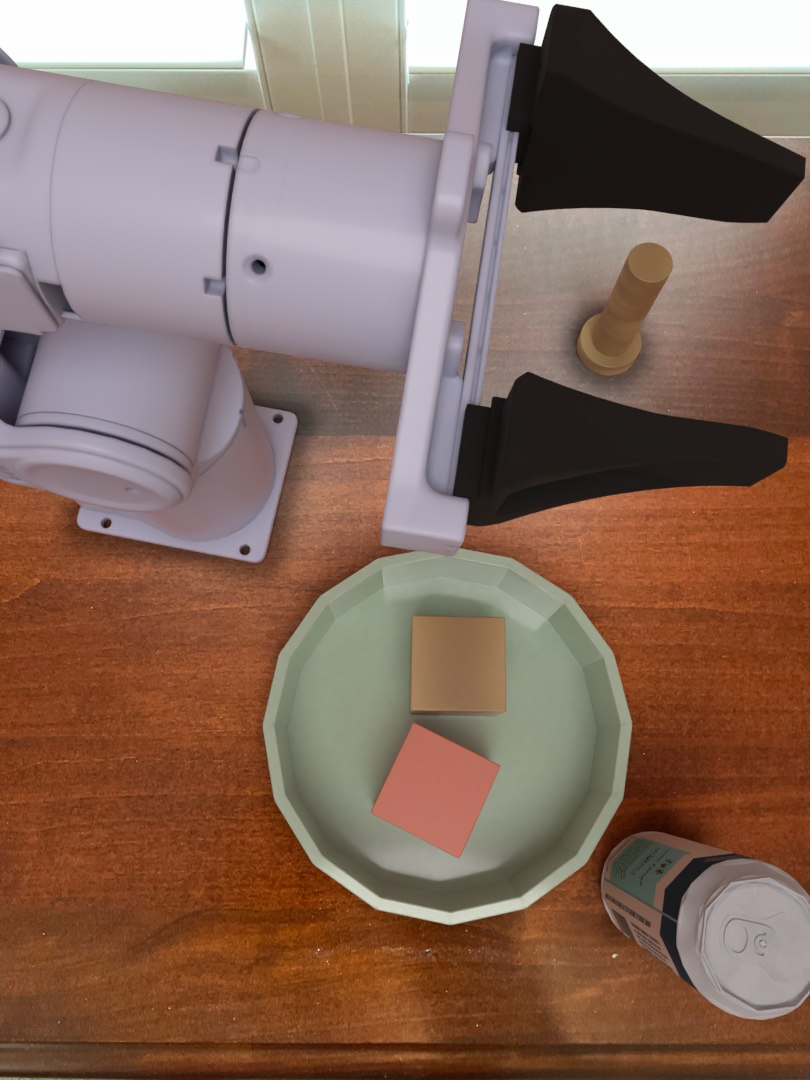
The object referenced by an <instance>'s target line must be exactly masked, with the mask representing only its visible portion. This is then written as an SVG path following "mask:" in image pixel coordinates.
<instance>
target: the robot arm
mask: <svg viewBox="0 0 810 1080" xmlns="http://www.w3.org/2000/svg"><path fill="white" fill-rule="evenodd" d="M540 10H541V8H540V7H539V6H536V5H531V4H525V3H521V2H514V1H509V0H467V1H466V7H465V14H464V20H463V24H462V31H461V36H460V37H461V38H460V43H459V50H458V56H457V61H456V67H455V73H454V80H453V85H452V90H451V96H450V102H449V109H448V114H447V121H446V125H445V131H444V135H443V139H439V138H433V137H426V136H420V135H414V134H409V133H403V132H397V131H391V130H385V129H380V128H374V127H369V126H363V125H356V124H351V123H346V122H338V121H334V120H333V121H332V120H328V119H322V118H315V117H309V116H304V115H300V114H299V115H298V114H293V113H287V112H281V111H274V110H269V109H264V108H262V109H261V108H258V107H254V106H248V105H247V106H246V105H241V104H235V103H230V102H224V101H218V100H212V99H207V98H200V97H195V96H188V95H183V94H177V93H171V92H165V91H161V90H153V89H148V88H141V87H137V86H130V85H126V84H125V85H124V84H118V83H114V82H109V81H108V82H107V81H101V80H97V79H91V78H85V77H79V76H75V75H67V74H61V73H56V72H50V71H45V70H39V69H32V68H26V67H21V66H18V64H17V63H16V61H14V60H13V59H12V58H11V56H9V54H8V53H7V52H5V50H3V48H1V47H0V480H2V481H4V482H6V483H8V484H12V485H17V486H21V487H27V488H31V489H37V490H41V491H47V492H49V493H52V494H55V495H58V496H60V497H63V498H66V499H69V500H71V501H74V502H75V503H76V504H77V505H78V506H80V507H79V510H78V513H77V517H76V523H77V524H76V525H77V526H78V527H79V528H80V529H81V530H83V531H86V532H92V533H97V534H102V535H107V536H111V537H116V538H122V539H127V540H132V541H138V542H143V543H148V544H154V545H158V546H164V547H169V548H174V549H179V550H184V551H189V552H194V553H200V554H204V555H210V556H214V557H220V558H225V559H231V560H234V561H235V560H237V561H242V562H245V563H251V564H259V563H261V562H263V561H264V560H265V558H266V555H267V553H268V549H269V545H270V541H271V535H272V533H273V528H274V523H275V520H276V516H277V512H278V509H279V508H278V507H279V503H280V499H281V495H282V491H283V488H284V482H285V480H286V479H285V478H286V476H287V471H288V467H289V463H290V459H291V455H292V450H293V446H294V442H295V438H296V434H297V429H298V426H299V420H298V417H297V415H296V414H295V413H294V412H292V411H289V410H284V409H283V410H282V409H278V408H272V407H266V406H261V405H255V403H254V402H253V399H252V397H251V394H250V392H249V390H248V387H247V385H246V383H245V380H244V378H243V375H242V372H241V371H240V367H239V365H238V363H237V360H236V358H235V357H234V355H233V352H232V351H231V349H230V347H236V348H237V347H238V348H243V349H248V350H255V351H260V352H266V353H271V354H279V355H285V356H290V357H296V358H301V359H308V360H314V361H321V362H325V363H326V362H327V363H331V364H332V363H333V364H338V365H345V366H350V367H357V368H362V369H368V370H374V371H380V372H387V373H393V374H398V375H405V378H404V385H403V386H404V387H403V392H402V397H401V404H400V410H399V417H398V423H397V429H396V436H395V442H394V448H393V454H392V460H391V467H390V474H389V478H388V484H387V492H386V497H385V505H384V510H383V514H382V515H383V516H382V522H381V529H380V536H379V544H380V545H381V546H384V547H390V548H396V549H402V550H409V551H421V552H427V553H433V554H439V555H445V556H452V557H453V556H455V555H456V553H457V551H458V550H459V548H461V546H462V545H463V543H464V542H465V538H466V531H467V526H471V527H476V528H477V527H478V528H483V527H489V526H494V525H500V524H504V523H506V522H509V521H512V520H515V519H516V520H517V519H520V518H522V517H526V516H529V515H533V514H537V513H540V512H544V511H547V510H550V509H553V508H559V507H562V506H566V505H567V506H568V505H572V504H576V503H580V502H584V501H589V500H594V499H600V498H606V497H610V496H616V495H622V494H629V493H637V492H643V491H644V492H645V491H654V490H664V489H676V488H691V487H692V488H693V487H748V488H750V487H752V486H754V485H756V484H758V483H759V482H761V481H763V480H765V479H766V478H768V477H770V476H772V475H774V474H775V473H777V472H779V471H780V470H783V469H785V467H786V465H787V463H788V453H789V452H788V451H789V437H787V436H783V435H780V434H778V433H775V432H770V431H768V430H763V429H760V428H756V427H752V426H745V425H740V424H732V423H726V422H718V421H711V420H703V419H697V418H689V417H683V416H682V417H681V416H674V415H668V414H664V413H657V412H653V411H649V410H645V409H642V408H638V407H635V406H634V407H633V406H631V405H630V406H629V405H627V404H622V403H619V402H615V401H614V400H613V401H612V400H609V399H605V398H602V397H598V396H595V395H593V394H590V393H586V392H584V391H580V390H577V389H575V388H572V387H570V386H569V387H568V386H566V385H564V384H561V383H558V382H555V381H553V380H550V379H547V378H545V377H543V376H540V375H538V374H536V373H533V372H530V371H526V372H524V373H523V374H521V375H520V376H517V378H515V380H514V382H513V384H512V385H511V388H510V390H509V392H508V394H507V396H506V397H501V396H492V397H491V403H490V406H484V405H481V402H482V395H483V387H484V383H485V374H486V366H487V360H488V354H489V346H490V339H491V332H492V325H493V318H494V311H495V306H496V305H495V304H496V298H497V290H498V284H499V276H500V271H501V263H502V256H503V250H504V249H503V248H504V242H505V241H504V240H505V234H506V227H507V220H508V214H509V208H510V207H509V205H510V200H511V192H512V185H513V179H514V178H513V177H514V170H515V165H516V164H517V166H516V171H515V174H516V176H518V177H517V178H518V179H517V184H516V185H517V186H516V194H515V200H514V206H515V208H516V210H518V211H519V212H520V213H521V214H525V213H533V212H542V211H543V212H544V211H554V210H572V209H619V210H621V209H622V210H642V211H649V212H656V213H657V212H658V213H663V214H669V215H677V216H682V217H689V218H695V219H700V220H708V221H714V222H721V223H731V224H732V223H733V224H734V223H735V224H768V223H769V221H771V219H772V218H773V217H774V216H775V214H776V213H777V212H778V211H779V210H780V208H781V207H782V206H783V205H784V204H785V202H786V201H787V200H788V199H789V198H790V197H791V195H792V194H793V193H794V192H795V190H796V189H797V188H798V187H799V186H800V184H802V182H803V181H804V180H805V178H806V164H807V163H806V162H807V158H806V156H804V155H801V154H799V153H798V152H795V151H793V150H791V149H789V148H787V147H785V146H783V145H782V144H780V143H777V142H775V141H773V140H771V139H769V138H767V137H764V136H763V135H761V134H758V133H756V132H754V131H753V130H751V129H749V128H747V127H744V126H742V125H741V124H739V123H737V122H734V121H733V120H731V119H730V118H727V117H725V116H723V115H721V114H719V113H718V112H716V111H714V110H713V109H710V108H709V107H708V106H706V105H704V104H702V103H700V102H698V101H697V100H695V99H693V98H692V97H690V96H688V94H686V93H684V92H682V91H681V90H680V89H678V88H676V87H675V86H674V85H673V84H671V83H669V82H668V81H667V80H665V79H664V78H663V77H662V76H660V75H659V74H657V72H655V71H654V70H652V69H651V67H649V66H648V65H646V63H644V62H643V61H642V60H641V59H640V58H638V57H637V56H636V55H634V54H633V52H631V51H630V50H629V49H628V48H627V47H626V46H625V45H624V44H623V43H622V42H621V41H620V40H619V39H618V38H617V37H616V36H615V35H614V34H613V33H612V32H611V31H610V30H609V29H608V28H607V27H606V25H604V23H603V22H602V21H601V20H600V19H599V17H598V16H596V14H595V13H594V12H593V11H592V9H589V8H583V7H579V6H571V5H565V4H562V3H561V4H560V3H555V4H554V5H553V6H552V7H551V10H550V13H549V17H548V20H547V24H546V27H545V31H544V35H543V38H542V42H541V45H536V44H535V42H536V37H537V32H538V31H537V30H538V24H539V18H540V17H539V16H540ZM489 175H492V177H491V184H490V190H489V195H488V196H489V197H488V204H487V211H486V216H485V217H486V218H485V223H484V231H483V238H482V246H481V252H480V256H479V257H480V258H479V265H478V271H477V277H476V284H475V292H474V298H473V305H472V310H471V311H472V312H471V319H470V324H469V325H470V326H469V333H468V339H467V345H466V351H465V352H466V353H465V358H464V365H463V373H462V375H461V374H459V373H458V371H459V366H460V362H461V358H462V354H463V349H464V342H465V331H466V324H465V322H464V321H458V320H454V319H452V318H453V317H452V316H453V311H454V305H455V301H456V300H455V299H456V292H457V286H458V282H459V281H458V280H459V275H460V268H461V263H462V257H463V251H464V245H465V238H466V234H467V227H468V224H473V225H474V224H477V223H478V220H479V215H480V210H481V206H482V202H483V197H484V193H485V190H486V186H487V180H488V176H489ZM277 418H282V420H281V422H278V423H277V422H275V419H277ZM107 521H111V522H110V523H111V524H110V525H109V526H108V527H104V525H105V523H106V522H107ZM246 547H248V548H249V552H248V553H247V554H242V550H243V548H246Z"/></svg>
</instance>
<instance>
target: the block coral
mask: <svg viewBox="0 0 810 1080" xmlns="http://www.w3.org/2000/svg"><path fill="white" fill-rule="evenodd" d="M499 769H500V765H498V764H496V763H494V762H492V761H490V760H488V759H487V758H485V757H483V756H481V755H479V754H477V753H475V752H473V751H471V750H469V749H467V748H465V747H463V746H461V745H459V744H457V743H455V742H453V741H451V740H449V739H447V738H445V737H443V736H441V735H439V734H437V733H435V732H433V731H431V730H429V729H427V728H425V727H423V726H421V725H419V724H417V723H415V722H413V724H412V726H411V728H410V730H409V732H408V734H407V736H406V738H405V740H404V742H403V745H402V747H401V749H400V751H399V753H398V755H397V757H396V759H395V761H394V763H393V766H392V768H391V770H390V772H389V774H388V776H387V778H386V780H385V782H384V784H383V787H382V789H381V791H380V793H379V795H378V797H377V799H376V801H375V803H374V805H373V808H372V810H371V813H372V814H373V815H375V816H377V817H379V818H381V819H383V820H385V821H387V822H389V823H391V824H393V825H395V826H397V827H399V828H401V829H403V830H404V831H406V832H408V833H410V834H412V835H414V836H416V837H418V838H420V839H422V840H424V841H426V842H428V843H430V844H432V845H434V846H435V847H437V848H439V849H441V850H443V851H445V852H447V853H449V854H451V855H453V856H455V857H457V858H460V857H461V855H462V852H463V850H464V848H465V846H466V843H467V841H468V839H469V837H470V834H471V832H472V830H473V828H474V825H475V823H476V821H477V819H478V816H479V814H480V812H481V810H482V807H483V805H484V803H485V801H486V798H487V796H488V794H489V792H490V789H491V787H492V785H493V783H494V780H495V778H496V776H497V774H498V771H499Z"/></svg>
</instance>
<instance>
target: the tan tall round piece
mask: <svg viewBox="0 0 810 1080" xmlns="http://www.w3.org/2000/svg"><path fill="white" fill-rule="evenodd" d="M673 269H674V260H673V257H672V255H671V253H670V252H669V251H668V249H667V248H666V247H664V246H663V245H661V244H659V243H655V242H641V243H639V244H637V245H635V246H634V247H633V248H632V249H631V250H630V251H629V253H628V255H627V257H626V259H625V261H624V263H623V266H622V268H621V271H620V272H619V274H618V277H617V279H616V281H615V283H614V285H613V288H612V290H611V292H610V295H609V297H608V298H607V301H606V302H605V304H604V308H603V310H602V312H600V313H597V314H594V315H592V316H591V317H589V318H588V319H587V320H586V321H585V322H584V324H583V326H582V328H581V330H580V333H579V334H578V337H577V341H576V353H577V356H578V358H579V360H580V362H581V363H582V364H583V365H584V367H585V368H587V369H588V370H589V371H590V372H593V373H595V374H596V375H600V376H604V377H605V376H607V377H609V376H611V377H612V376H617V375H620V374H622V373H625V372H626V371H628V370H629V369H630V368H631V367H632V366H633V364H634V363H635V361H636V359H637V358H638V356H639V354H640V353H641V350H642V346H643V339H642V334H641V330H640V328H641V327H642V325H643V323H644V321H645V320H646V318H647V316H648V314H649V313H650V311H651V309H652V307H653V306H654V304H655V303H656V300H657V299H658V297H659V295H660V293H661V291H662V289H663V288H664V286H665V284H666V283H667V281H668V279H669V277H670V275H671V273H672V271H673Z"/></svg>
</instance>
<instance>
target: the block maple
mask: <svg viewBox="0 0 810 1080" xmlns="http://www.w3.org/2000/svg"><path fill="white" fill-rule="evenodd" d="M504 712H506V641H505V618H504V617H466V616H416V615H414V616H412V622H411V646H410V704H409V714H410V715H440V716H491V717H495V716H497V715H499V714H502V713H504Z"/></svg>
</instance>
